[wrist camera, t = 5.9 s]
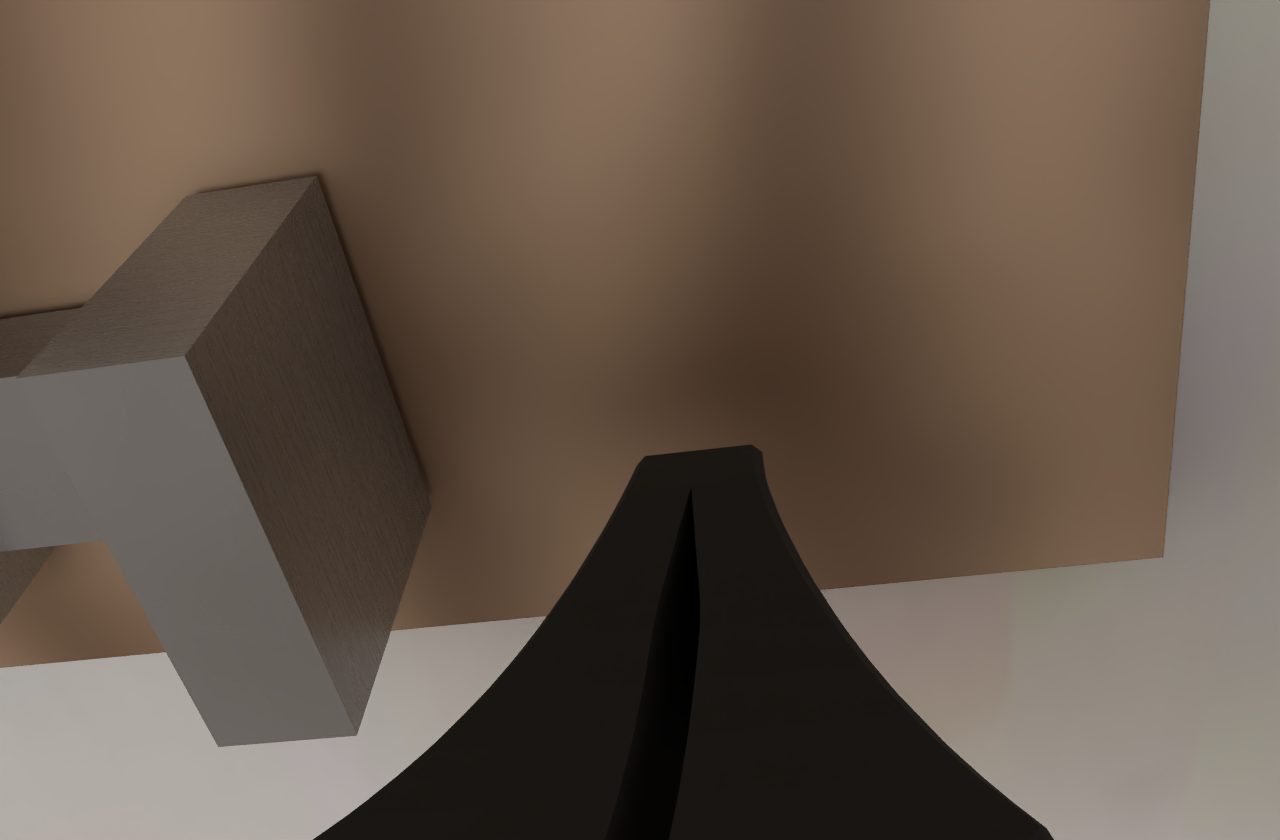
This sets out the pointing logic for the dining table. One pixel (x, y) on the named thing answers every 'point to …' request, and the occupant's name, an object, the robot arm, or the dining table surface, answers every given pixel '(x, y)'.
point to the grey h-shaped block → (223, 459)
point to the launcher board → (665, 259)
